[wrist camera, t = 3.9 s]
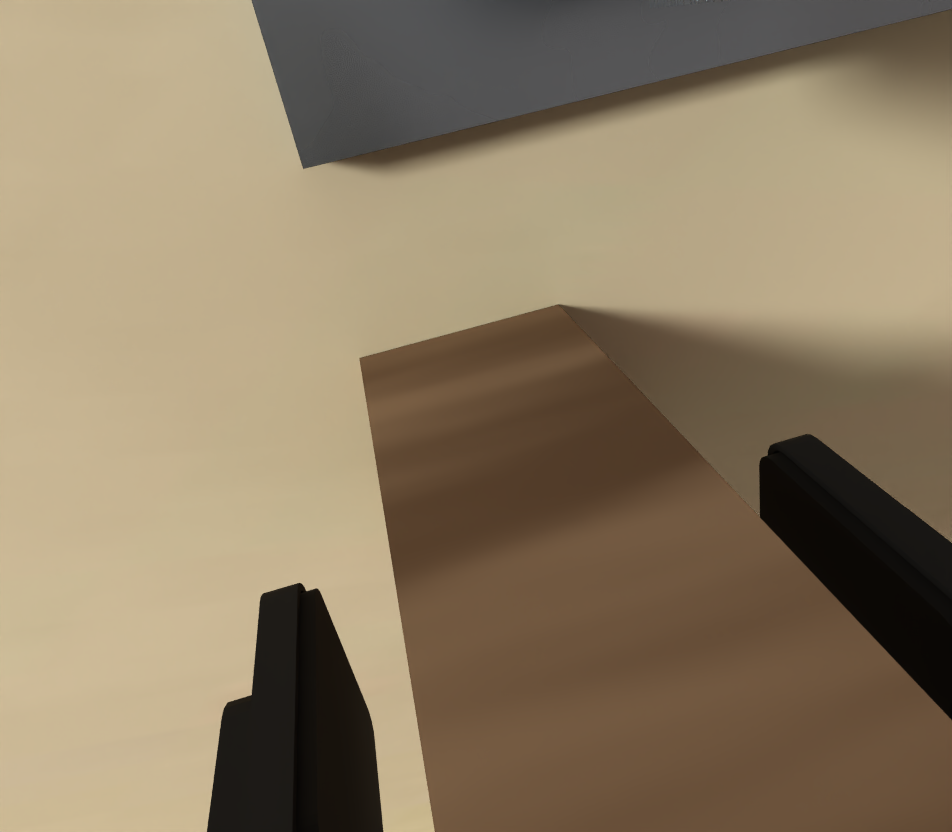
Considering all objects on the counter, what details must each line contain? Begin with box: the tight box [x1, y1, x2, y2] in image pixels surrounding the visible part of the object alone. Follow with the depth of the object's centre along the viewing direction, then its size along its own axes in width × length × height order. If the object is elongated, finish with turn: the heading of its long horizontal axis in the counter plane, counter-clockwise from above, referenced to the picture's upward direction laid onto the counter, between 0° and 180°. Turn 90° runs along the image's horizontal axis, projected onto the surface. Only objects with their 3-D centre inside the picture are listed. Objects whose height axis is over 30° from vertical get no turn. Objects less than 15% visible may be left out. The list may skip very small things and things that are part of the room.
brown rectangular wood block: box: [360, 305, 952, 832], centre depth 10 cm, size 4×4×14 cm
